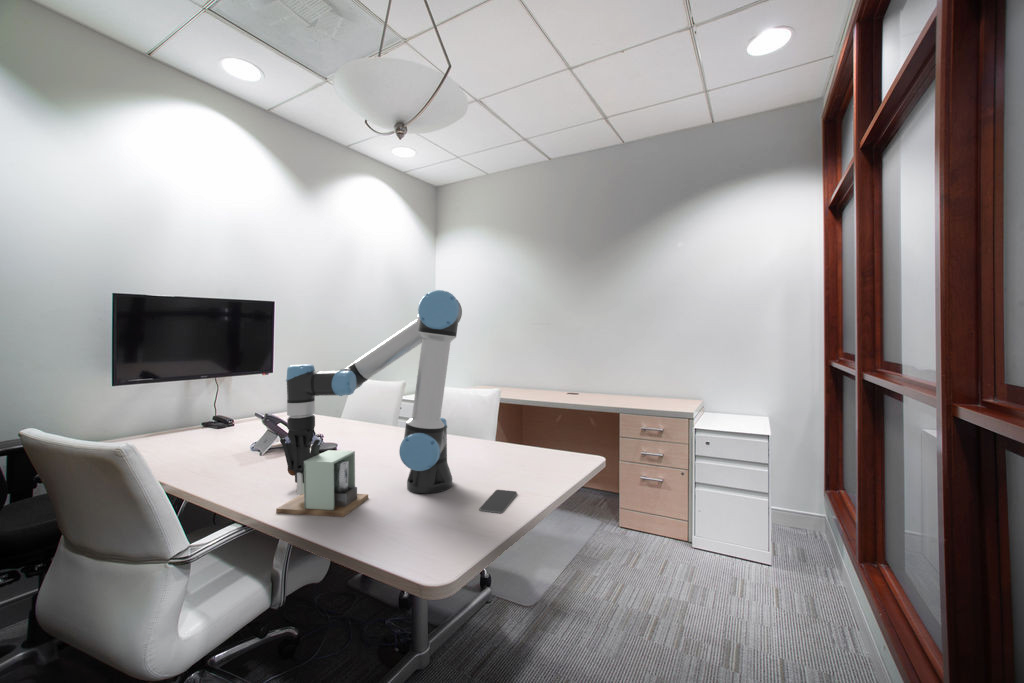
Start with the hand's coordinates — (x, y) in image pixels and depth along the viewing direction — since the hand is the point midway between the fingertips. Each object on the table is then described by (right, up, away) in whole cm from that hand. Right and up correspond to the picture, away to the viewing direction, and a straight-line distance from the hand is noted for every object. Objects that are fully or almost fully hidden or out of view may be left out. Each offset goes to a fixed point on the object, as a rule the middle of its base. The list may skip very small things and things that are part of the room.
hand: (302, 493), depth 127 cm
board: (+7, -3, -1) cm, 8 cm away
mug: (-8, -4, +17) cm, 20 cm away
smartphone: (+60, -3, 0) cm, 60 cm away
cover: (+9, -2, -1) cm, 10 cm away
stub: (+13, -2, -2) cm, 13 cm away
